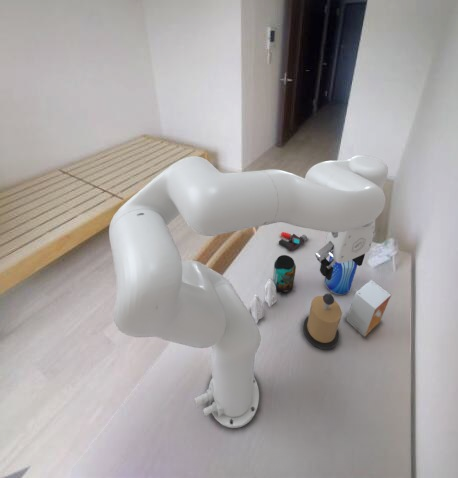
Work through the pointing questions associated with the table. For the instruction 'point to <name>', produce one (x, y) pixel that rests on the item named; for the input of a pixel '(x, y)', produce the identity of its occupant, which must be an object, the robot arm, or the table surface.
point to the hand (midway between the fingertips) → (340, 268)
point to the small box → (368, 307)
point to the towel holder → (323, 322)
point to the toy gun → (292, 241)
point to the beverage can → (284, 274)
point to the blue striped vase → (341, 277)
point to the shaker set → (269, 298)
